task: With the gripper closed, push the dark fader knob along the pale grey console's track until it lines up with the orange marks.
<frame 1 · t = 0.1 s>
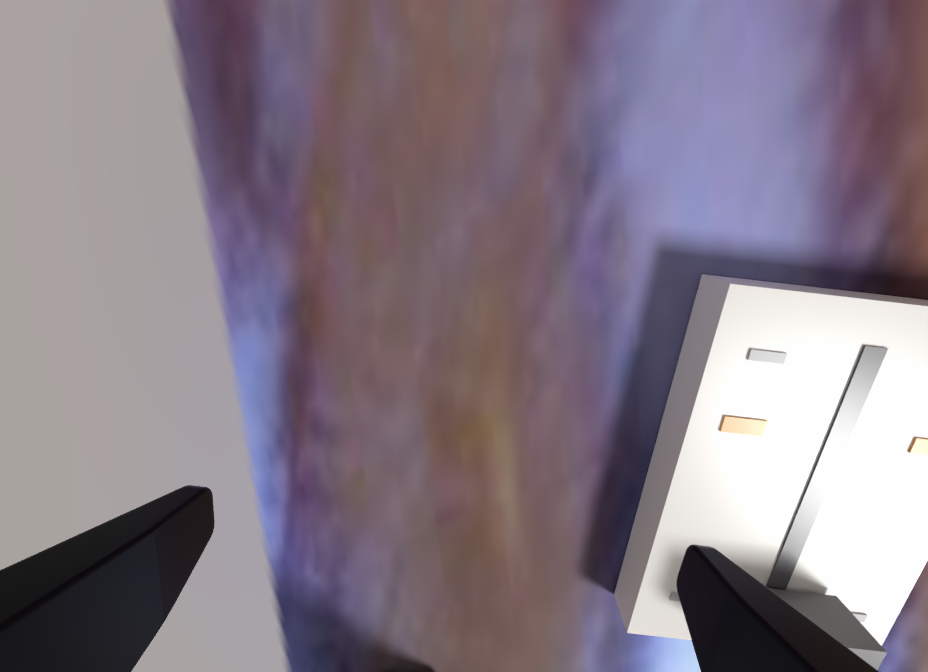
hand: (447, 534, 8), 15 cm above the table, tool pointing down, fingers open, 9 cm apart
fader: (790, 638, 22), point 4 cm above the table, slide at 0.0 cm
console: (778, 468, 24), on the table
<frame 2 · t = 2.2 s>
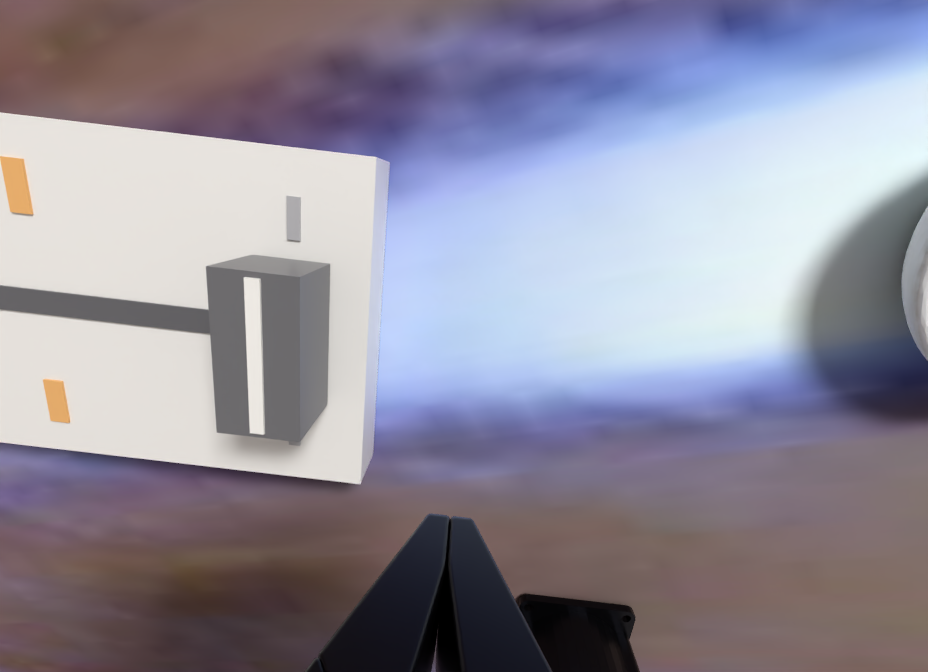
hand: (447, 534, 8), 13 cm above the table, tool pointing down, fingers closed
fader: (274, 345, 16), point 4 cm above the table, slide at 0.0 cm
console: (166, 298, 20), on the table
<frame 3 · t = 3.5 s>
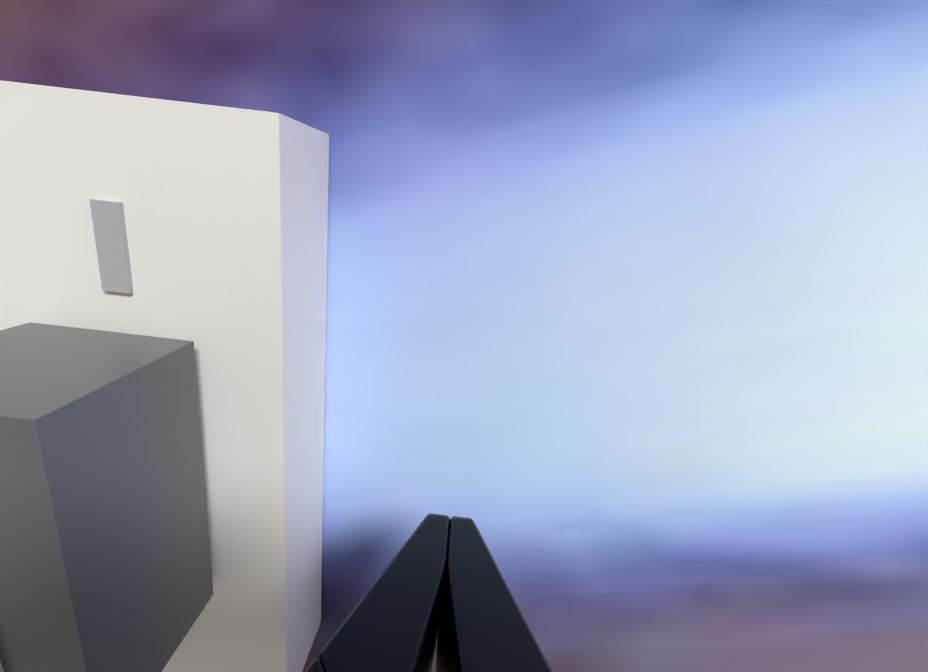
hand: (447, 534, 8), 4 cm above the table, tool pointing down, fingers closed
fader: (61, 526, 7), point 4 cm above the table, slide at 0.0 cm
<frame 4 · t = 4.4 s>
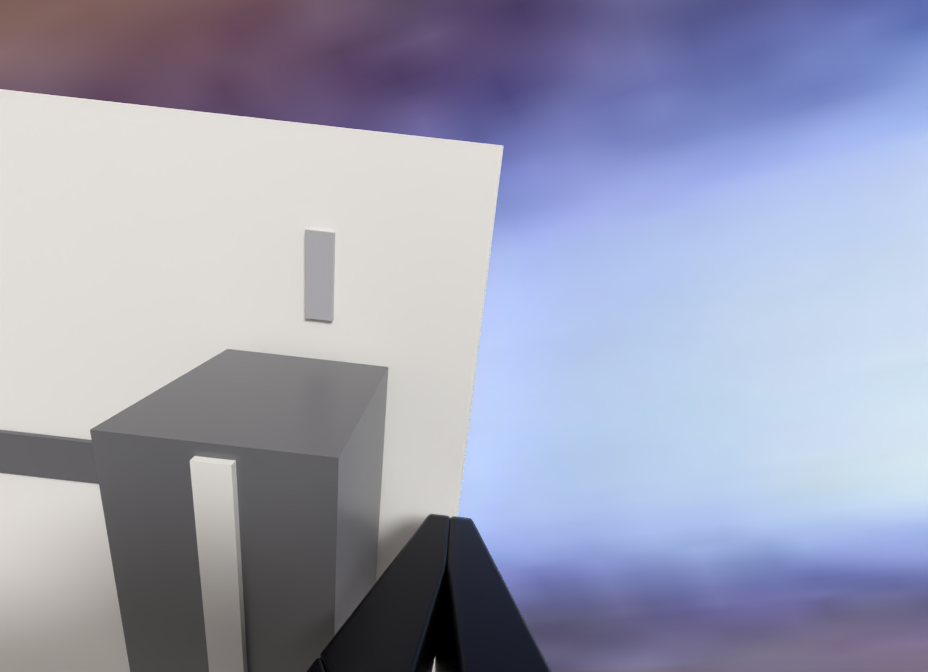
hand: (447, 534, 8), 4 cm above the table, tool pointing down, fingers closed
fader: (274, 551, 8), point 4 cm above the table, slide at 0.1 cm, touching gripper
console: (90, 398, 12), on the table
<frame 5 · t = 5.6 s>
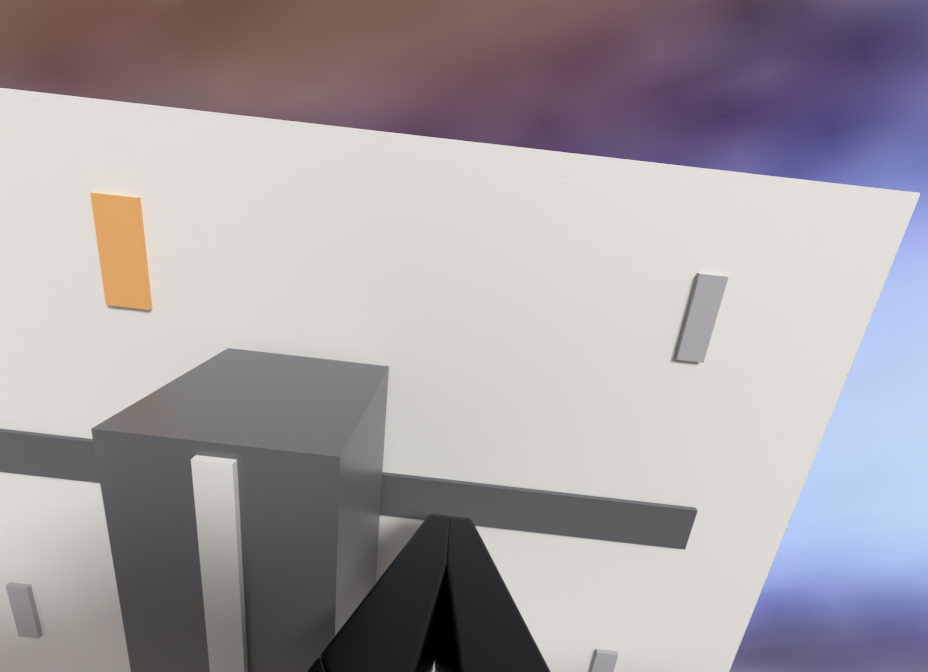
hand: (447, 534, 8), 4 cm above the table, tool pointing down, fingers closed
fader: (274, 551, 8), point 4 cm above the table, slide at 7.0 cm, touching gripper
console: (348, 426, 12), on the table
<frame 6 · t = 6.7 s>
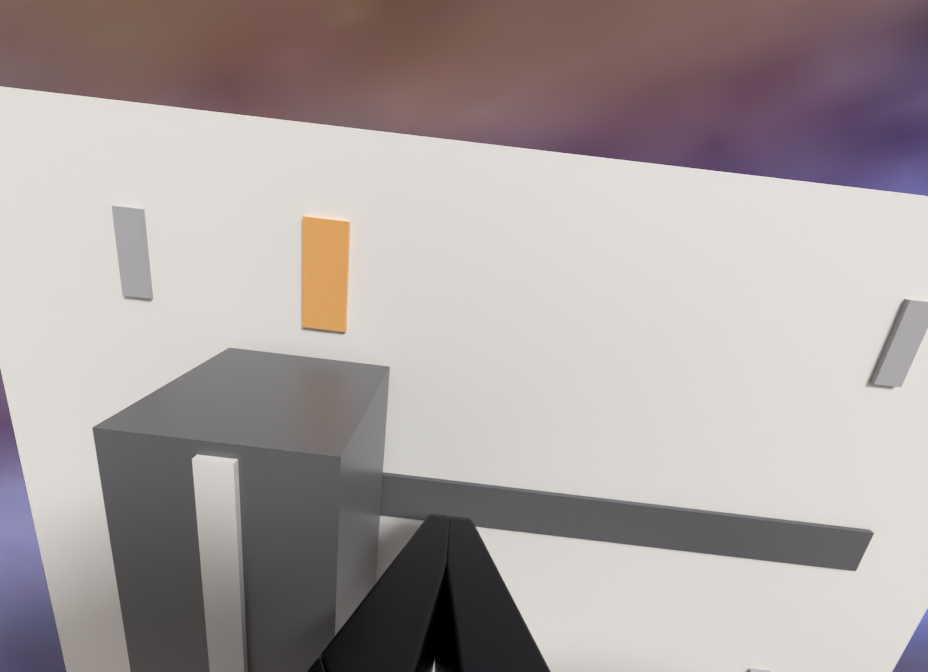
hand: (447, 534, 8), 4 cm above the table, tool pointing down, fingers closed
fader: (274, 550, 8), point 4 cm above the table, slide at 10.7 cm, touching gripper
console: (485, 442, 12), on the table
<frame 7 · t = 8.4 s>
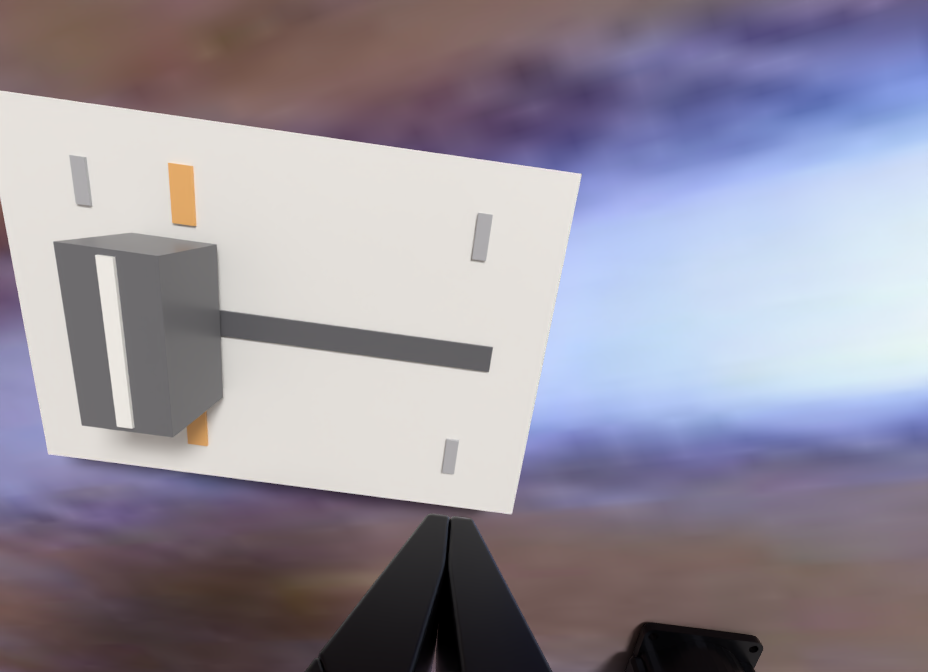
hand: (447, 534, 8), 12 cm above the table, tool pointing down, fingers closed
fader: (150, 332, 15), point 4 cm above the table, slide at 10.7 cm
console: (307, 313, 19), on the table
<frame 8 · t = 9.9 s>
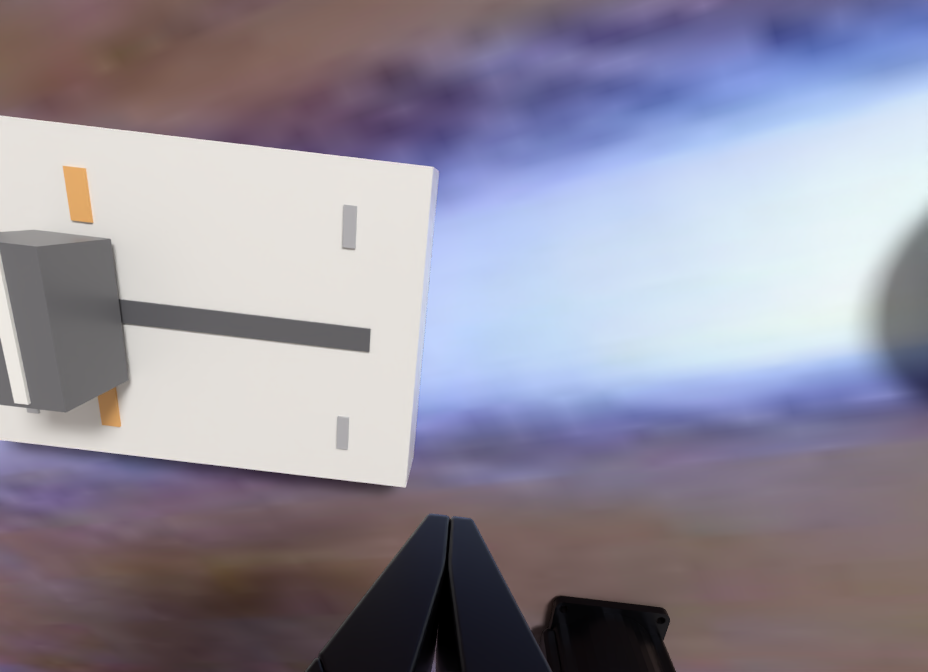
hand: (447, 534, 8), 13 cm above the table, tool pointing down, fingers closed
fader: (48, 318, 16), point 4 cm above the table, slide at 10.7 cm
console: (213, 303, 21), on the table
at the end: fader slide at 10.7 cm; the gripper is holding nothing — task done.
